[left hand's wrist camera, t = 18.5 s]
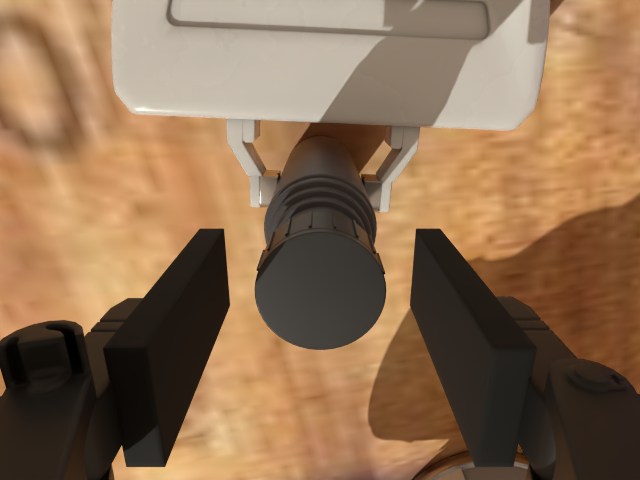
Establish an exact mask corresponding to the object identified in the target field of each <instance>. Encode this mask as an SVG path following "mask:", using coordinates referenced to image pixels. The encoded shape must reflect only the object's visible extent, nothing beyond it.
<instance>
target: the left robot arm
mask: <svg viewBox="0 0 640 480" xmlns="http://www.w3.org/2000/svg"><path fill="white" fill-rule="evenodd" d="M229 306H230V300H229V287H228V274H227V262H226V249H225V237H224V229H199V231H198V232H197V233H196V234H195V235H194V237H193V238H192V239H191V240H190V242H189V243H188V244H187V245H186V246H185V248H184V249H183V250H182V251H181V253H180V254H179V255H178V256H177V258H176V259H175V260H174V261H173V262H172V264H171V265H170V266H169V267H168V269H167V270H166V271H165V272H164V273H163V275H162V276H161V277H160V278H159V280H158V281H157V282H156V283H155V285H154V286H153V287H152V288H151V289H150V291H149V292H148V293H147V294H146V296H145V297H144V298H128V299H126V300H124V301H122V302H121V303H119V304H117V305H115V306H114V307H112V308H110V310H109V311H108V312H107V313H106V314H105V315H104V316H103V317H102V318H101V319H100V322H98V323H97V324H96V325H95V326H94V327H93V328H92V329H91V332H88V333H87V334H86V336H85V337H84V333H83V329H82V326H80V325H79V324H77V323H76V322H71V321H66V320H59V321H47V322H43V323H38V324H33V325H30V326H28V327H25V328H22V329H20V330H17V331H15V332H13V333H12V334H10V335H8V336H6V337H4V338H3V339H2V340H1V341H0V369H1V372H2V376H3V379H4V382H5V386H6V390H5V392H4V393H3V395H2V396H0V480H114V473H113V469H112V462H113V460H114V458H115V456H116V455H117V453H118V451H119V449H120V447H121V445H122V447H123V452H124V457H125V462H126V467H165V466H166V463H167V461H168V458H169V456H170V453H171V451H172V448H173V446H174V443H175V441H176V438H177V436H178V433H179V431H180V428H181V426H182V423H183V421H184V418H185V416H186V413H187V411H188V408H189V406H190V403H191V401H192V399H193V396H194V394H195V391H196V389H197V386H198V384H199V381H200V379H201V376H202V374H203V371H204V369H205V366H206V364H207V361H208V359H209V356H210V354H211V351H212V349H213V346H214V344H215V341H216V339H217V336H218V334H219V331H220V329H221V326H222V324H223V321H224V319H225V316H226V314H227V311H228V309H229ZM410 306H411V309H412V311H413V314H414V316H415V319H416V321H417V324H418V326H419V329H420V331H421V334H422V336H423V339H424V341H425V344H426V346H427V349H428V351H429V354H430V356H431V359H432V361H433V364H434V366H435V369H436V371H437V374H438V376H439V379H440V381H441V384H442V386H443V389H444V391H445V394H446V396H447V399H448V401H449V403H450V406H451V408H452V411H453V413H454V416H455V418H456V421H457V423H458V426H459V428H460V431H461V433H462V436H463V438H464V441H465V443H466V446H467V448H468V451H469V452H466V453H462V454H458V455H455V456H452V457H449V458H447V459H444V460H442V461H440V462H438V463H436V464H434V465H433V466H431V467H429V468H428V469H426V470H425V471H424V472H422V473H421V474H420V475H419V476H418V477H416V478H415V479H414V480H640V394H637V393H636V391H635V389H634V387H633V386H632V385H631V384H630V383H629V381H628V380H627V379H626V378H625V377H623V376H622V375H620V374H619V373H617V372H616V371H614V370H613V369H611V368H608V367H606V366H604V365H602V364H599V363H597V362H593V361H589V360H585V359H578V358H577V357H576V356H575V355H574V354H573V353H572V352H571V351H570V350H569V349H568V347H567V346H566V345H565V344H564V343H563V342H562V341H561V340H560V339H559V338H558V337H557V336H556V335H555V334H554V332H553V331H552V330H549V327H548V326H547V325H546V324H545V323H544V322H543V321H541V320H540V317H539V316H538V315H537V314H536V313H535V312H534V311H533V310H532V309H531V308H530V307H529V306H527V305H526V304H524V303H522V302H520V301H519V300H517V299H515V298H513V297H495V296H494V294H493V293H492V292H491V291H490V289H489V288H488V287H487V286H486V285H485V283H484V282H483V281H482V280H481V278H480V277H479V276H478V275H477V273H476V272H475V271H474V270H473V269H472V267H471V266H470V265H469V264H468V262H467V261H466V260H465V259H464V258H463V256H462V255H461V254H460V253H459V251H458V250H457V249H456V248H455V246H454V245H453V244H452V243H451V242H450V240H449V239H448V238H447V237H446V235H445V234H444V233H443V232H442V231H441V229H416V237H415V249H414V262H413V274H412V287H411V300H410ZM518 443H519V445H520V447H521V449H522V450H523V452H524V454H525V455H522V454H519V453H516V452H517V447H518Z"/></svg>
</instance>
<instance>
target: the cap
mask: <svg viewBox="0 0 640 480" xmlns="http://www.w3.org/2000/svg"><path fill="white" fill-rule="evenodd" d="M257 271H258V274H257V278H256V282H255V299H256V304H257V307H258V310H259V313H260V314H261V316H262V318H263V320H264V321H265V323H266V324H267V326H268V327H269V328H270V329H271V330H272V331H273V332H274V333H275V334H277V335H278V336H279V337H281V338H282V339H284V340H285V341H287V342H289V343H291V344H293V345H296V346H299V347H303V348H307V349H315V350H326V349H334V348H338V347H342V346H345V345H348V344H350V343H352V342H354V341H356V340H357V339H359V338H360V337H362V336H363V335H364V334H365V333H367V332H368V331H369V330H370V329H371V328H372V327H373V325H374V324H375V323H376V321H377V320H378V318H379V316H380V314H381V312H382V310H383V307H384V303H385V298H386V283H385V278H384V274H385V271H384V268H383V265H382V262H381V259H380V256H379V253H376V250H375V247H374V244H373V241H372V238H371V236H370V234H369V235H368V234H367V233H366V232H365V231H364V230H363V229H362V228H361V227H360V226H359V225H358V224H356V221H355V220H353V221H352V220H350V219H348V218H347V217H344V216H342V215H339V214H335V212H333V211H332V213H330V212H312V211H310V212H309V213H306V214H302V215H299V216H297V217H294V218H292V219H291V218H289V219H288V221H287V222H286V223H284V224H283V225H282V226H281V227H280V228H279V229H278V230H277V231H276V232H274V231H273V233H272V235H271V238H270V240H269V242H268V244H267V247H266V249H265V250H263V252H262V255H261V258H260V261H259V264H258V267H257Z"/></svg>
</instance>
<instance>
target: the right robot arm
mask: <svg viewBox="0 0 640 480" xmlns="http://www.w3.org/2000/svg"><path fill="white" fill-rule="evenodd" d="M549 17H550V0H112V17H111V60H112V78H113V86H114V91H115V93H116V95H117V96H118V97H119V99H120V100H121V101H122V102H123V103H124V105H125V106H126V107H127V108H128V109H129V110H130V111H131V112H132V113H133V114H137V115H157V116H180V117H203V118H226V119H227V142H228V144H229V146H230V147H231V149H232V151H233V152H234V154H235V156H236V157H237V159H238V161H239V162H240V164H241V166H242V167H243V169H244V171H245V172H246V174H247V175H248V176H250V204H251V207H259V208H260V207H269V204H270V202H271V199H272V197H273V194H274V192H275V190H276V187H277V185H278V182H279V180H280V171H275V170H266V168H265V166H264V164H263V163H262V161H261V159H260V157H259V155H258V153H257V151H256V150H255V148H254V146H253V144H252V143H253V142H254V141H255V140H256V139H257V138H258V137H259V136H260V120H272V121H295V122H318V123H341V124H364V125H386V132H385V142H386V143H387V144H388V145H389V146H390V147H391V148H392V150H391V151H390V153H389V154H388V156H387V157H386V159H385V160H384V162H383V163H382V165H381V166H380V168H379V169H378V171H377V173H376V175H374V174H361V180H362V183H363V185H364V188H365V190H366V192H367V195H368V197H369V200H370V202H371V204H372V207H373V210H374V212H385V213H388V211H389V207H390V197H391V187H392V182H395V180H396V179H397V177H398V176H399V175H400V173H401V172H402V171H403V169H404V168H405V166H406V165H407V164H408V162H409V161H410V160H411V158H412V157H413V155H414V154H415V153H416V151H417V148H418V140H419V132H420V127H433V128H456V129H479V130H503V131H512V130H515V129H516V128H518V127H519V126H520V125H521V124H522V123H523V122H524V121H525V120H526V119H527V117H528V116H529V115H530V114H531V113H532V112H533V110H534V109H535V107H536V104H537V100H538V96H539V92H540V87H541V82H542V76H543V70H544V64H545V56H546V49H547V40H548V29H549Z"/></svg>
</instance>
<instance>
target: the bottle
mask: <svg viewBox="0 0 640 480" xmlns="http://www.w3.org/2000/svg"><path fill="white" fill-rule="evenodd" d="M310 211H312V212H330V213H332V211H333V212H335V214H339V215H342V216H344V217H347V218H348V219H350V220H352V221H353V220H355V221H356V224H358V225H359V226H360V227H361V228H362V229H363V230H364V231H365V232H366V233H367V234H368V235H369V234H370V236H371V238H372V241H373V244H374V243H375V237H376V230H377V226H376V217H375V213H374V210H373V207H372V204H371V202H370V200H369V197H368V195H367V192H366V190H365V188H364V185H363V183H362V180H361V178H360V176H359V173H358V171H357V168H356V166H355V163H354V161H353V159H352V156H351V154H350V152H349V151H348V149H347V148H346V147H345V146H344V145H343V144H342V143H341V142H339V141H338V140H336V139H333V138H331V137H327V136H314V137H310V138H307V139H305V140H303V141H302V142H300V143H299V144H298V145H297V146H296V147H295V148H294V149H293V150H292V152H291V154H290V156H289V158H288V160H287V163H286V165H285V168H284V170H283V173H282V175H281V177H280V180H279V182H278V185H277V187H276V190H275V192H274V194H273V197H272V199H271V202H270V204H269V207H268V209H267V212H266V216H265V222H264V232H265V238H266V244H268V242H269V240H270V238H271V235H272V233H273V231H274V232H276V231H277V230H278V229H279V228H280V227H281V226H282V225H283V224H284V223H286V222H287V221H288V219H289V218H291V219H292V218H294V217H297V216H299V215H302V214H306V213H309V212H310Z"/></svg>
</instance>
